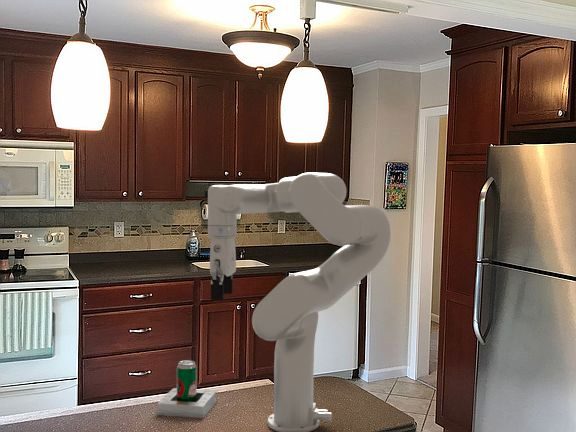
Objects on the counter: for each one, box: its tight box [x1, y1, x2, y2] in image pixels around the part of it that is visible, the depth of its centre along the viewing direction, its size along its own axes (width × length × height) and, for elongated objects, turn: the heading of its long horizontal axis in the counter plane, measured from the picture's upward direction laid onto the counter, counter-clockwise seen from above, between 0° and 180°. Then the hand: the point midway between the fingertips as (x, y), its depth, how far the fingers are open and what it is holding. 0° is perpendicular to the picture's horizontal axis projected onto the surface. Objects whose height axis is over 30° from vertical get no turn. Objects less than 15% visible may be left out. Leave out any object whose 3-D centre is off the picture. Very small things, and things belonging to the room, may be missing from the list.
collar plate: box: [156, 387, 217, 419], centre depth 162 cm, size 12×12×3 cm
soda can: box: [176, 359, 198, 402], centre depth 161 cm, size 5×5×12 cm
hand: (222, 296), depth 165 cm, fingers open, 9 cm apart
